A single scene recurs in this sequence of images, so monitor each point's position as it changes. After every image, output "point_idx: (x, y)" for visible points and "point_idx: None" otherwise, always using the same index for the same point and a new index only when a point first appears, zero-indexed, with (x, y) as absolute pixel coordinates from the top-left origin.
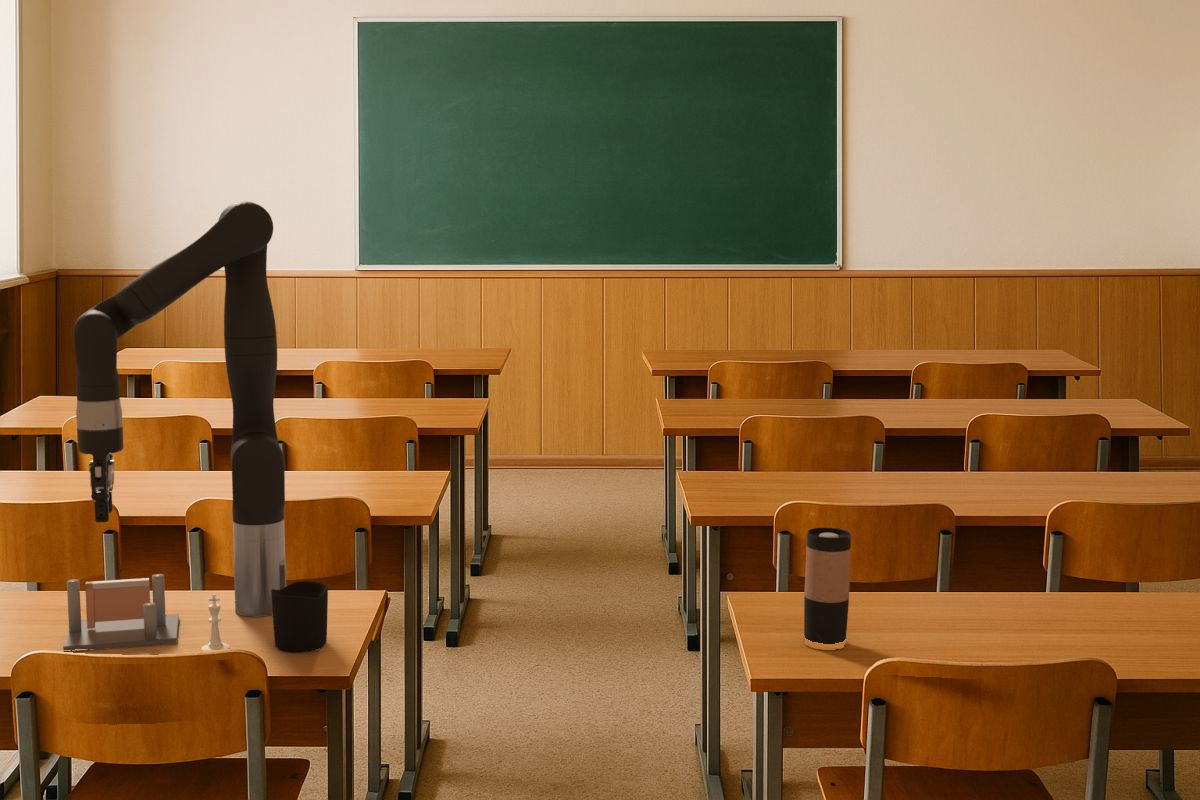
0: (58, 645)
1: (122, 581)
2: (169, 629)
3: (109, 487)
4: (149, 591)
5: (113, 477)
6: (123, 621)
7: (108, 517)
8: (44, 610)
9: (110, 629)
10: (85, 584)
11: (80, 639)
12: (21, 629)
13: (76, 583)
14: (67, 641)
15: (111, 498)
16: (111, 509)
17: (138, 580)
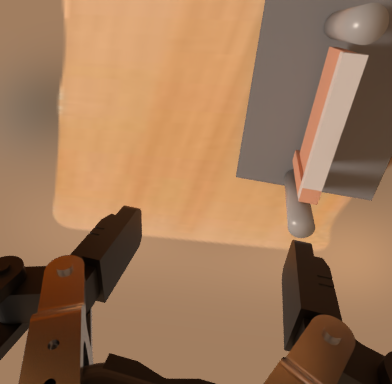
0: (325, 198)
1: (340, 127)
2: (384, 2)
3: (307, 377)
4: (351, 51)
5: (82, 337)
6: (274, 98)
7: (312, 251)
8: (141, 199)
9: None
10: (317, 203)
11: (347, 174)
12: (221, 231)
13: (313, 221)
14: (347, 192)
15: (113, 240)
16: (136, 213)
17: (355, 85)
